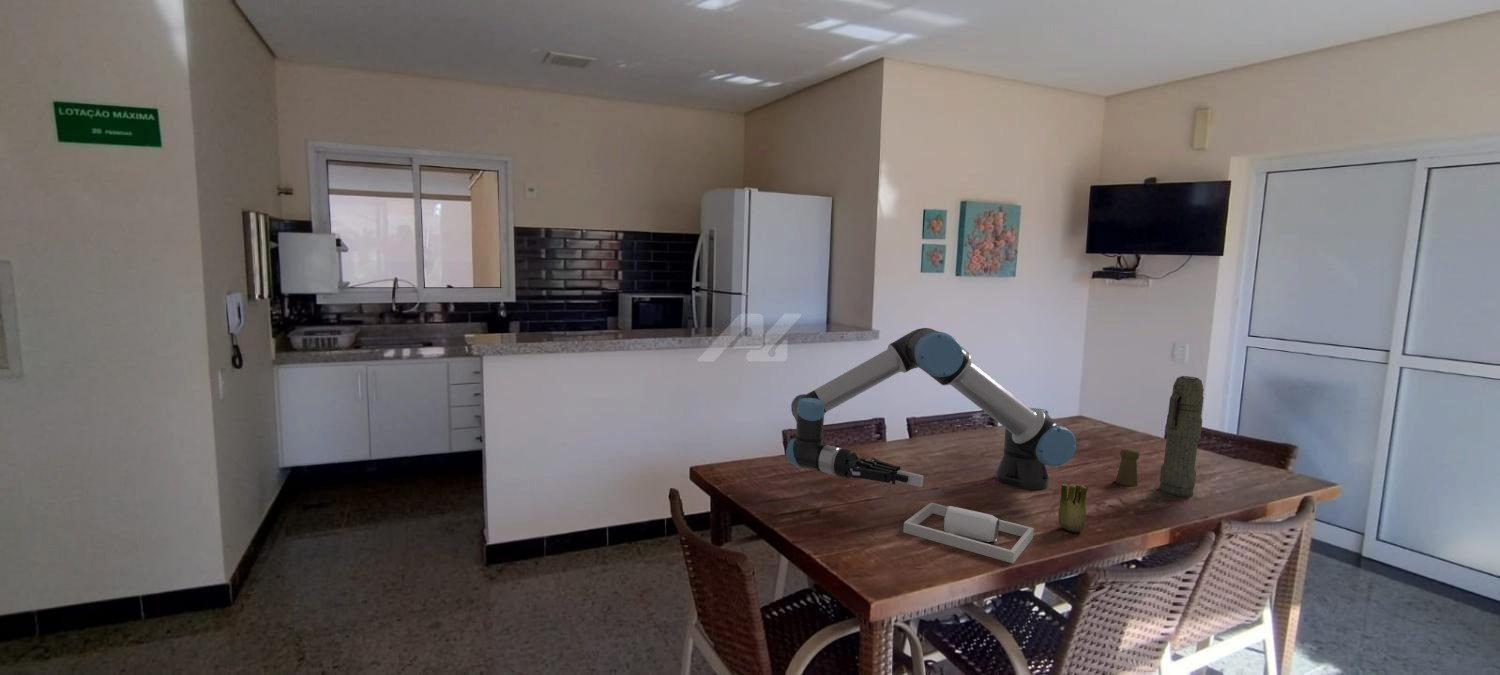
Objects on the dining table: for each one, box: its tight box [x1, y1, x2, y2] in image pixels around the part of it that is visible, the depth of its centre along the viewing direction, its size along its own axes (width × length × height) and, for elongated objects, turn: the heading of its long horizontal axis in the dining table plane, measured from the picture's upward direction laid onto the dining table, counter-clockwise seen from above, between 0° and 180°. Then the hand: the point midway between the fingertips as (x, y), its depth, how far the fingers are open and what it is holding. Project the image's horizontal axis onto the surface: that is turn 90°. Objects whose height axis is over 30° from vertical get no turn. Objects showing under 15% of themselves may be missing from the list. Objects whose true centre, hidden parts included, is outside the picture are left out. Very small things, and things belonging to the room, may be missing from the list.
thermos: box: [1158, 375, 1205, 498], centre depth 201 cm, size 9×12×35 cm
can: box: [943, 505, 1000, 543], centre depth 164 cm, size 6×6×12 cm
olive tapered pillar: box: [1115, 447, 1140, 487], centre depth 209 cm, size 6×6×11 cm
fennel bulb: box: [1058, 483, 1088, 534], centre depth 170 cm, size 6×5×12 cm
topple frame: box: [902, 501, 1035, 564], centre depth 165 cm, size 26×18×2 cm
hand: (921, 481), depth 170 cm, fingers closed
